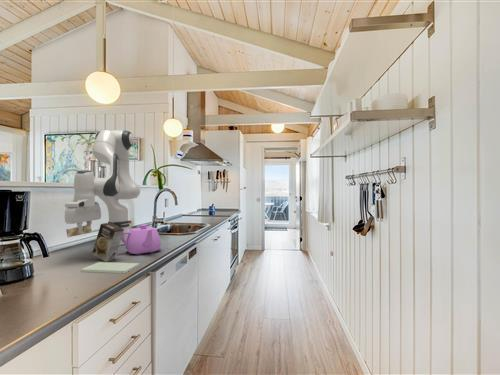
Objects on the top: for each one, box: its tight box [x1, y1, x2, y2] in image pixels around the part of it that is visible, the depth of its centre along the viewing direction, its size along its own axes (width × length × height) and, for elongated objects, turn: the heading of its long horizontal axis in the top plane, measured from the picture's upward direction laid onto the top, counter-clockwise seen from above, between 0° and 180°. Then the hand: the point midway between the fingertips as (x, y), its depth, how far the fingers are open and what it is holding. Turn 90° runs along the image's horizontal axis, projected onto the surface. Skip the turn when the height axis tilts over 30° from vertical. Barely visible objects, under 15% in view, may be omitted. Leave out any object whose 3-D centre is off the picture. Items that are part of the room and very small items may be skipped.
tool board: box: [80, 261, 140, 274], centre depth 114 cm, size 11×20×1 cm, turn 84°
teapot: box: [121, 223, 162, 256], centre depth 141 cm, size 23×21×15 cm
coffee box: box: [91, 222, 124, 262], centre depth 128 cm, size 9×6×16 cm
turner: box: [65, 224, 100, 238], centre depth 130 cm, size 19×8×4 cm, turn 80°
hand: (84, 230), depth 130 cm, fingers closed on turner, 3 cm apart
